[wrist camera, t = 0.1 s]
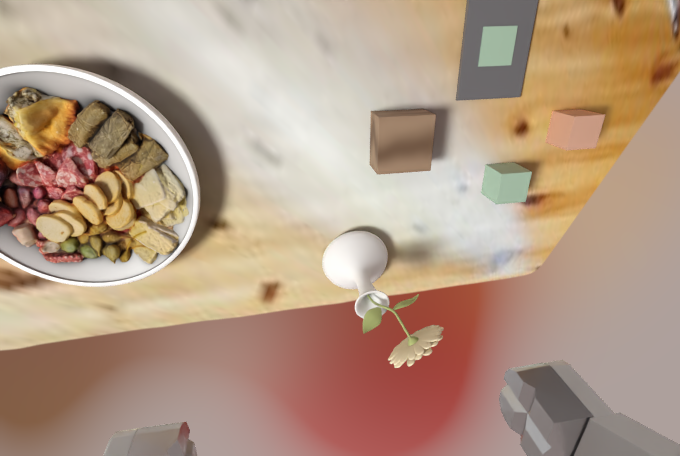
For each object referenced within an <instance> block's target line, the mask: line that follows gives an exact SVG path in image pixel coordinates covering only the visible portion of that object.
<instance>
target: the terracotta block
mask: <svg viewBox="0 0 680 456" xmlns="http://www.w3.org/2000/svg"><path fill="white" fill-rule="evenodd" d="M604 118H605V114H600V113H596V112H591V111H587V110H582V109H576V110H560V111H552V115H551V120H550V124H549V128H548V133H547V137H546V142H545V143H548V144H551V145H553V146H556V147H559V148H562V149H564V150H576V149H589V148H596V145H597V142H598V138H599V135H600V131H601V128H602V125H603V121H604Z"/></svg>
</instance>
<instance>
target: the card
mask: <svg viewBox="0 0 680 456" xmlns="http://www.w3.org/2000/svg"><path fill="white" fill-rule="evenodd" d="M537 4H538V0H467V5H466V14H465V23H464V32H463V41H462V50H461V59H460V68H459V77H458V85H457V94H456V100H475V99H493V98H511V97H520V95H521V90H522V85H523V79H524V74H525V69H526V63H527V58H528V52H529V47H530V42H531V36H532V31H533V26H534V20H535V15H536V10H537Z"/></svg>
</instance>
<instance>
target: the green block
mask: <svg viewBox="0 0 680 456" xmlns="http://www.w3.org/2000/svg"><path fill="white" fill-rule="evenodd" d="M531 174H532V171H530V170H528V169H526V168H524V167H522V166H520V165H518V164H516V163H514V162H512V163H500V164H488V165H485V172H484V178H483V184H482V191H481V193H482V194H483V195H485V196H486V197H487V198H489V199H490V200H491V201H493V202H494V203H495V204H505V203H516V202H525V201H526V197H527V192H528V188H529V183H530V179H531Z"/></svg>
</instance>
